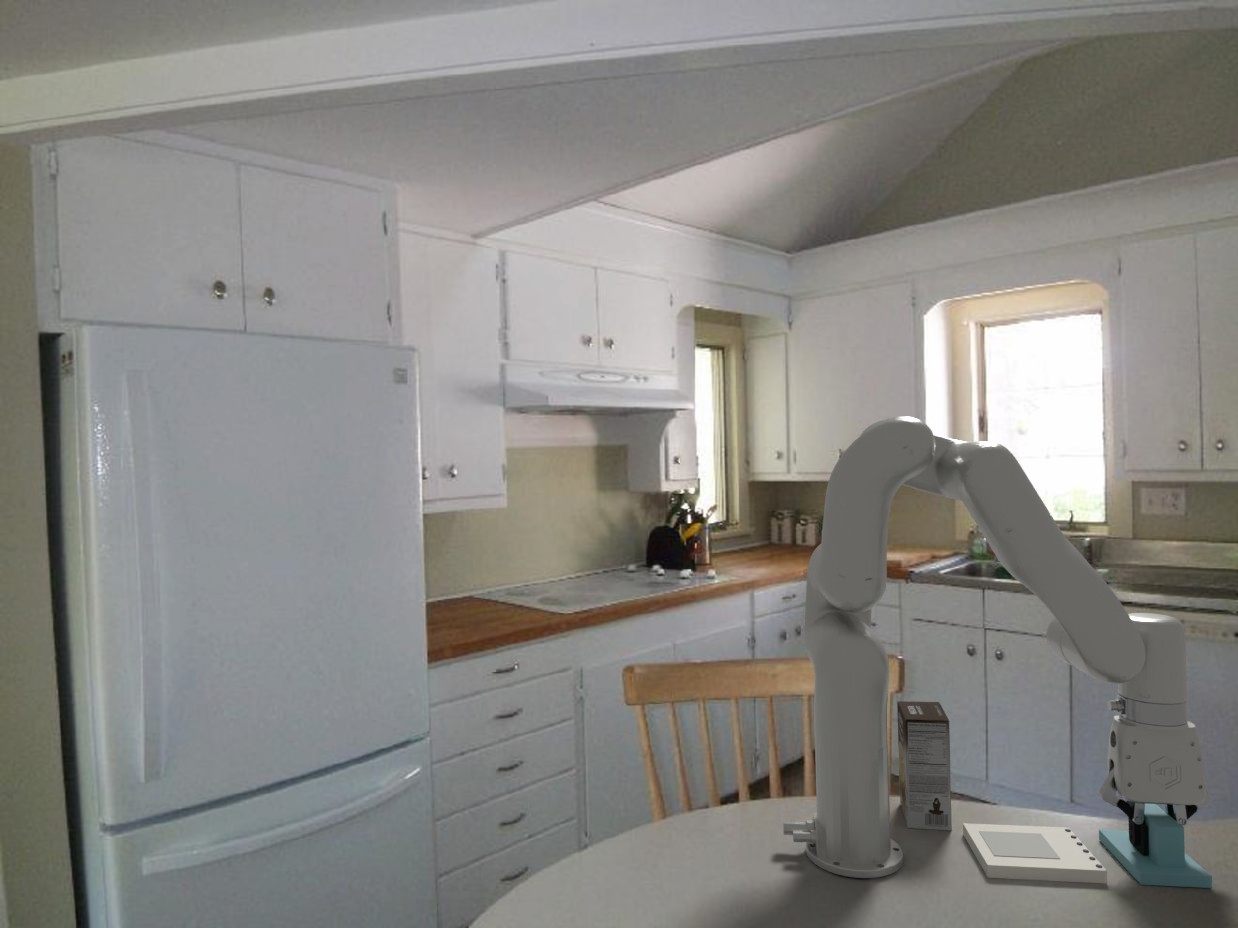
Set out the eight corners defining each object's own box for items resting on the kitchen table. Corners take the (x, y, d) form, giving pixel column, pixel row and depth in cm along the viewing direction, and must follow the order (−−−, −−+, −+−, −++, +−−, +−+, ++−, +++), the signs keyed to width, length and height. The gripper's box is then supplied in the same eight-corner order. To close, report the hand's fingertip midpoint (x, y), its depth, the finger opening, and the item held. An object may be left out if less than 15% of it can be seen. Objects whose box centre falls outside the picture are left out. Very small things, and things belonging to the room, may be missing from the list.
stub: (1140, 884, 100) (1139, 832, 100) (1099, 839, 112) (1097, 793, 112) (1212, 887, 99) (1210, 835, 99) (1162, 842, 111) (1160, 795, 111)
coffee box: (898, 802, 126) (895, 699, 126) (942, 805, 125) (939, 700, 125) (907, 828, 117) (904, 717, 117) (954, 831, 116) (951, 719, 116)
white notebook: (988, 877, 103) (987, 863, 103) (963, 834, 115) (962, 822, 115) (1107, 883, 101) (1106, 869, 101) (1069, 838, 112) (1068, 826, 112)
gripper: (1096, 717, 103) (1100, 862, 103) (1239, 720, 100) (1243, 869, 100) (1073, 700, 110) (1076, 835, 110) (1205, 703, 108) (1209, 840, 108)
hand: (1156, 849), depth 105 cm, fingers closed on stub, 3 cm apart
